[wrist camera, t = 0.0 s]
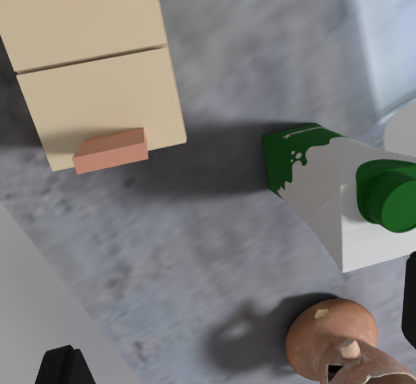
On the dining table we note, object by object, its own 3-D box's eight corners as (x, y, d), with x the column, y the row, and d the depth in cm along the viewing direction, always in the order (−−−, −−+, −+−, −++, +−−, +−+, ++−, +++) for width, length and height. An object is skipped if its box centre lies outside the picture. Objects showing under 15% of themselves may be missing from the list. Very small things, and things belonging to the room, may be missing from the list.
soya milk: (322, 113, 41) (469, 160, 22) (325, 181, 44) (455, 269, 26) (253, 129, 40) (348, 192, 22) (262, 197, 43) (350, 300, 25)
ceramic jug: (264, 308, 51) (307, 395, 38) (352, 268, 51) (424, 341, 38) (295, 380, 58) (340, 474, 45) (371, 345, 58) (438, 428, 45)
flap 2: (19, 75, 26) (-15, 80, 20) (166, 47, 27) (173, 45, 22) (54, 168, 29) (33, 196, 23) (185, 140, 30) (195, 159, 25)
